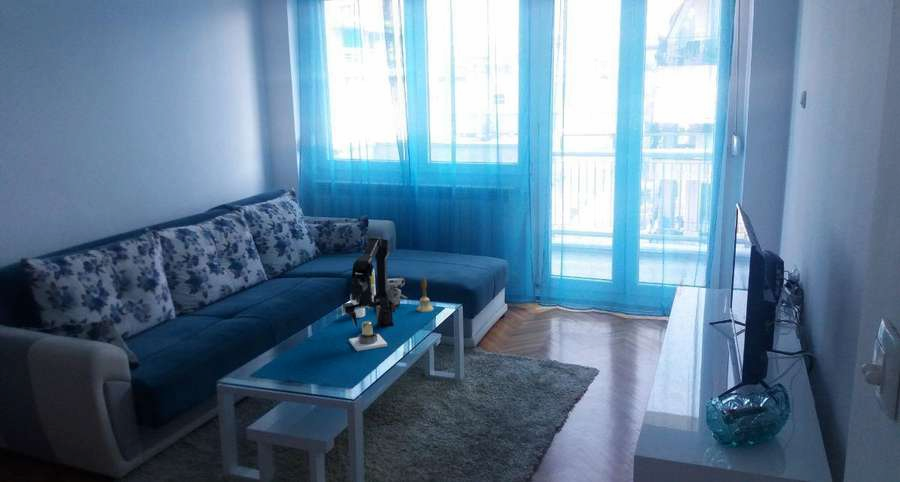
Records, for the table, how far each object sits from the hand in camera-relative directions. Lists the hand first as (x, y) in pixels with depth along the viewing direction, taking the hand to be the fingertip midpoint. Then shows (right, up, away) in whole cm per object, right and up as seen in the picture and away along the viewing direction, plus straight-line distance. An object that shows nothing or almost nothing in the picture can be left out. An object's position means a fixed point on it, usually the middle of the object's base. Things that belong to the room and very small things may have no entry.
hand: (366, 325), depth 290 cm
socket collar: (0, -7, +2) cm, 7 cm away
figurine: (+8, +2, +50) cm, 51 cm away
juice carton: (-7, +3, +55) cm, 56 cm away
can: (-9, -1, +39) cm, 40 cm away
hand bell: (+23, +2, +46) cm, 52 cm away
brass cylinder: (0, -7, +2) cm, 7 cm away
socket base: (0, -8, +2) cm, 8 cm away
